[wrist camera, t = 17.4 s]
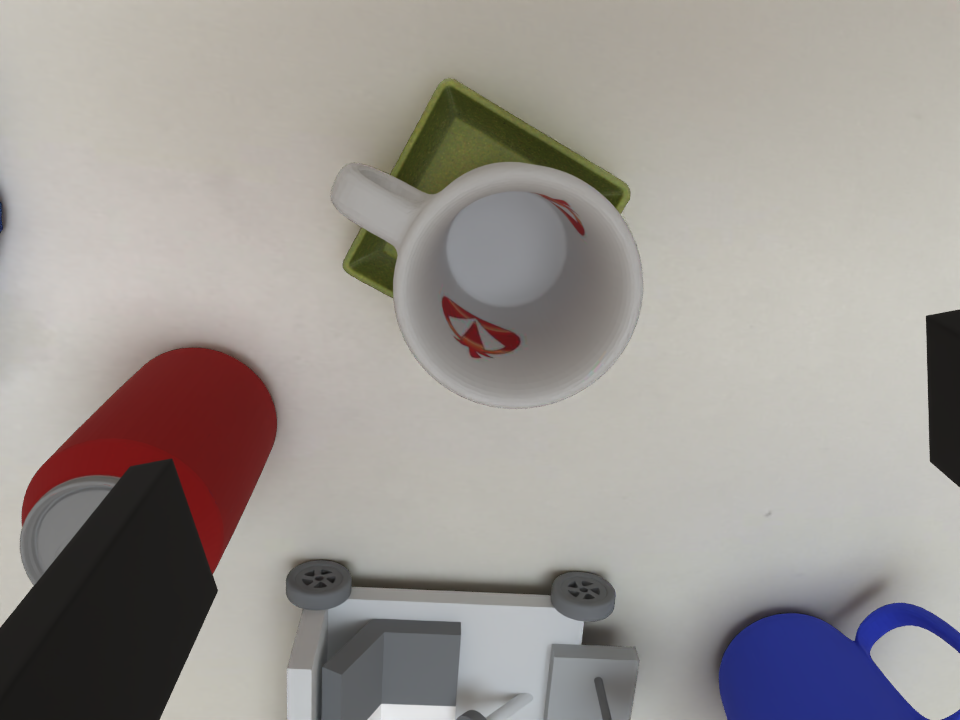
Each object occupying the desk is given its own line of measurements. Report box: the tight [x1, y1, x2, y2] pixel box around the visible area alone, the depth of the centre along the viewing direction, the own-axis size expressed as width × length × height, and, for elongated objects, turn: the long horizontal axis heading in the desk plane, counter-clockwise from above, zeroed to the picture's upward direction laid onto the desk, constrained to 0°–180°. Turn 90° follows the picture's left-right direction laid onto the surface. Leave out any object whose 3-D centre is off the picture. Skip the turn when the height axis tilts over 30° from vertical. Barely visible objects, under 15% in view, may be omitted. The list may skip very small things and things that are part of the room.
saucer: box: [343, 78, 630, 298], centre depth 36 cm, size 9×9×2 cm
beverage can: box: [20, 348, 277, 585], centre depth 34 cm, size 7×7×12 cm
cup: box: [331, 162, 643, 409], centre depth 31 cm, size 11×8×8 cm
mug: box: [719, 603, 960, 720], centre depth 40 cm, size 8×12×10 cm
